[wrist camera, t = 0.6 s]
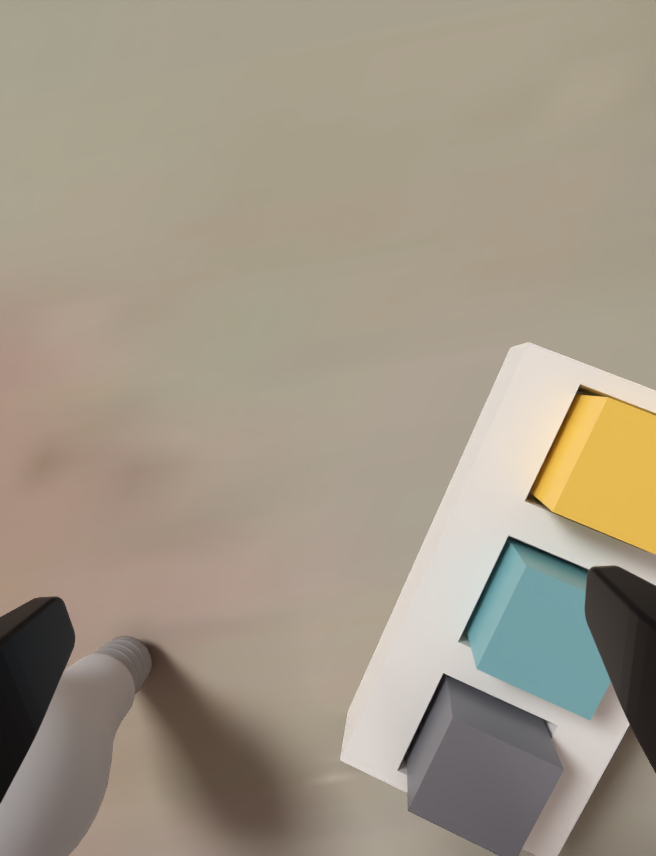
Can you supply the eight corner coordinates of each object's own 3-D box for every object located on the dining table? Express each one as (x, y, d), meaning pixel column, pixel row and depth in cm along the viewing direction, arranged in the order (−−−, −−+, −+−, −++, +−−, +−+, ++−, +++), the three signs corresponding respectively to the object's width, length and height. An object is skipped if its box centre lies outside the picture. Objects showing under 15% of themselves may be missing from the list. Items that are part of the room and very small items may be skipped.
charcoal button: (538, 707, 20) (564, 769, 17) (497, 788, 21) (514, 862, 17) (444, 665, 20) (452, 718, 17) (406, 745, 21) (407, 810, 18)
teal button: (605, 577, 19) (645, 617, 16) (559, 665, 20) (590, 720, 17) (506, 535, 20) (526, 566, 16) (464, 623, 20) (476, 669, 17)
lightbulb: (213, 627, 24) (56, 837, 13) (168, 731, 25) (-15, 1008, 14) (103, 570, 24) (-137, 725, 13) (62, 674, 25) (-193, 897, 14)
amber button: (678, 435, 18) (736, 446, 15) (628, 531, 19) (674, 562, 16) (573, 394, 19) (608, 397, 15) (527, 490, 19) (552, 511, 16)
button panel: (727, 430, 20) (785, 440, 17) (533, 799, 22) (553, 864, 19) (510, 347, 20) (528, 342, 18) (347, 711, 23) (340, 760, 20)
